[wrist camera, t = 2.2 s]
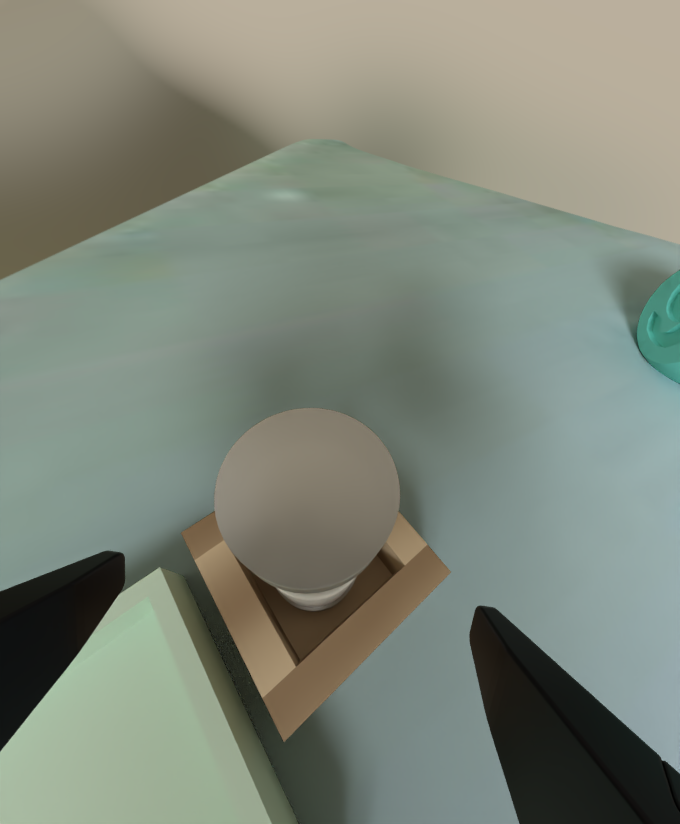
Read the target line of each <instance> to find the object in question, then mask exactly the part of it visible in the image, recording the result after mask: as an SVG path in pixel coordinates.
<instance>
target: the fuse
mask: <svg viewBox="0 0 680 824" xmlns="http://www.w3.org/2000/svg"><path fill="white" fill-rule="evenodd" d="M399 503H400V484H399V478H398V473H397V470H396V467H395V464H394V461H393V459H392V457H391V455H390V453H389V451H388V450H387V448H386V447H385V445H384V444H383V442H382V441H381V440H380V439H379V438H378V436H377V435H376V434H375V433H374V432H372V431H371V430H370V429H369V428H368V427H366V426H365V425H364V424H362V423H361V422H359V421H357V420H356V419H354V418H352V417H350V416H348V415H345V414H343V413H340V412H336V411H333V410H328V409H321V408H300V409H293V410H288V411H284V412H281V413H278V414H275V415H273V416H270V417H268V418H266V419H264V420H262V421H261V422H259V423H258V424H256V425H254V426H253V427H252V428H250V429H249V430H248V431H247V432H246V433H244V434H243V435H242V436H241V437H240V438H239V439H238V440H237V442H236V443H235V444H234V445H233V447H232V448H231V449H230V451H229V452H228V454H227V456H226V457H225V459H224V461H223V463H222V466H221V468H220V470H219V474H218V477H217V480H216V486H215V493H214V507H215V515H216V520H217V523H218V527H219V530H220V532H221V535H222V537H223V539H224V541H225V543H226V544H227V546H228V547H229V549H230V550H231V552H232V553H233V554H234V555H235V556H236V557H237V559H238V560H239V561H240V562H241V563H242V564H244V565H245V566H246V567H247V568H248V569H250V570H251V571H252V572H253V573H254V574H256V575H257V576H258V577H259V578H260V579H262V580H263V581H265V582H267V583H268V584H270V585H272V586H274V587H276V589H277V590H278V592H279V593H280V595H281V596H282V597H283V598H284V599H285V600H286V601H287V602H289V603H290V604H291V605H293V606H294V607H296V608H298V609H300V610H303V611H308V612H320V611H324V610H327V609H329V608H331V607H333V606H335V605H336V604H338V603H339V602H340V601H341V600H342V599H343V598H344V597H345V596H346V595H347V593H348V592H349V591H350V589H351V588H352V586H353V584H354V582H355V579H356V577H357V575H359V574H360V573H361V572H362V571H363V570H364V569H365V568H366V567H367V566H368V565H369V564H370V563H371V561H372V560H373V559H374V557H375V556H376V555H377V553H378V552H379V551H380V549H381V548H382V547H383V545H384V544H385V543H386V541H387V539H388V537H389V535H390V534H391V532H392V529H393V527H394V524H395V522H396V519H397V514H398V510H399Z"/></svg>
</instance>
